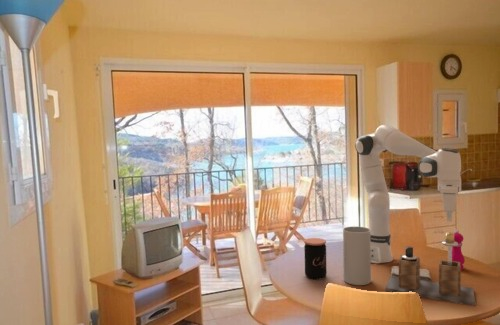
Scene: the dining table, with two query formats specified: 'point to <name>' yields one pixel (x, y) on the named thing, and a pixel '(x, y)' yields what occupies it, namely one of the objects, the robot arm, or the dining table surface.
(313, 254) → the coffee jar
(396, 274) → the washcloth
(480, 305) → the dining table surface
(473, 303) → the grey holder stand
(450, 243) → the plunger right
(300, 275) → the dining table surface
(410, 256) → the plunger left
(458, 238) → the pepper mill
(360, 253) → the cylinder vase
